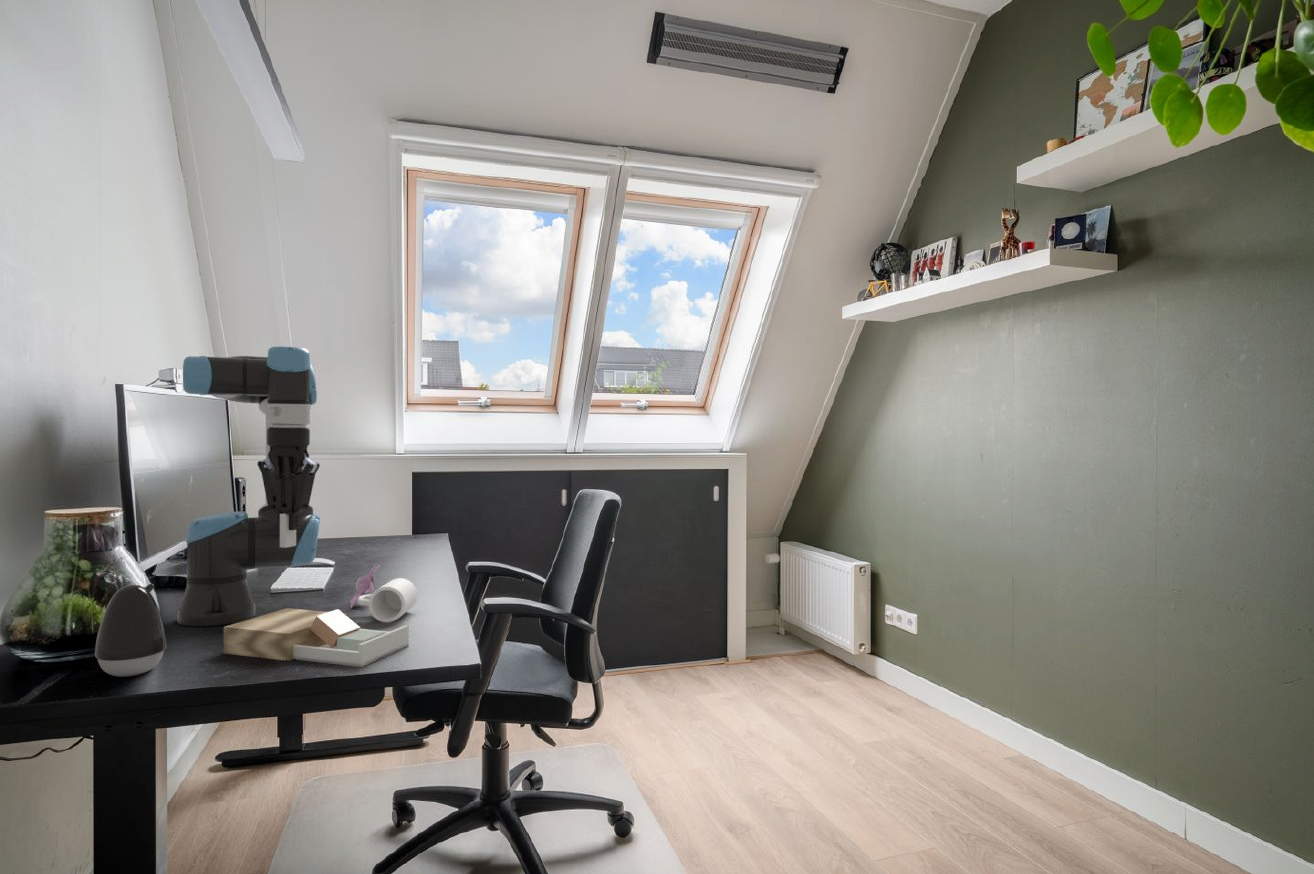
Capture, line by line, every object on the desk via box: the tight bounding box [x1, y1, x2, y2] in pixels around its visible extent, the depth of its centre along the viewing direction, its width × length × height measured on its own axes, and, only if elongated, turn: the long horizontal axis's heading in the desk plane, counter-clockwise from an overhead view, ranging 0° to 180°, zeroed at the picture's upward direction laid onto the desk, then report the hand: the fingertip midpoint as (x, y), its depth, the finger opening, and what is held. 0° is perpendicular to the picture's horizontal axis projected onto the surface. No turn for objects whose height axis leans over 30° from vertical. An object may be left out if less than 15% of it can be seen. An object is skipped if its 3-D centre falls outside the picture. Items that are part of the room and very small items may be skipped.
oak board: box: [223, 607, 349, 662], centre depth 150 cm, size 15×16×5 cm
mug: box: [356, 577, 418, 623], centre depth 173 cm, size 12×10×8 cm
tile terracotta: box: [310, 608, 361, 648], centre depth 147 cm, size 6×6×3 cm
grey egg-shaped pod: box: [94, 583, 167, 678], centre depth 133 cm, size 10×10×15 cm
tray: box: [292, 625, 410, 668], centre depth 146 cm, size 15×14×4 cm
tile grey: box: [337, 630, 385, 651], centre depth 145 cm, size 6×6×3 cm
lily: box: [349, 564, 382, 609], centre depth 186 cm, size 12×12×10 cm
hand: (288, 546), depth 150 cm, fingers closed
